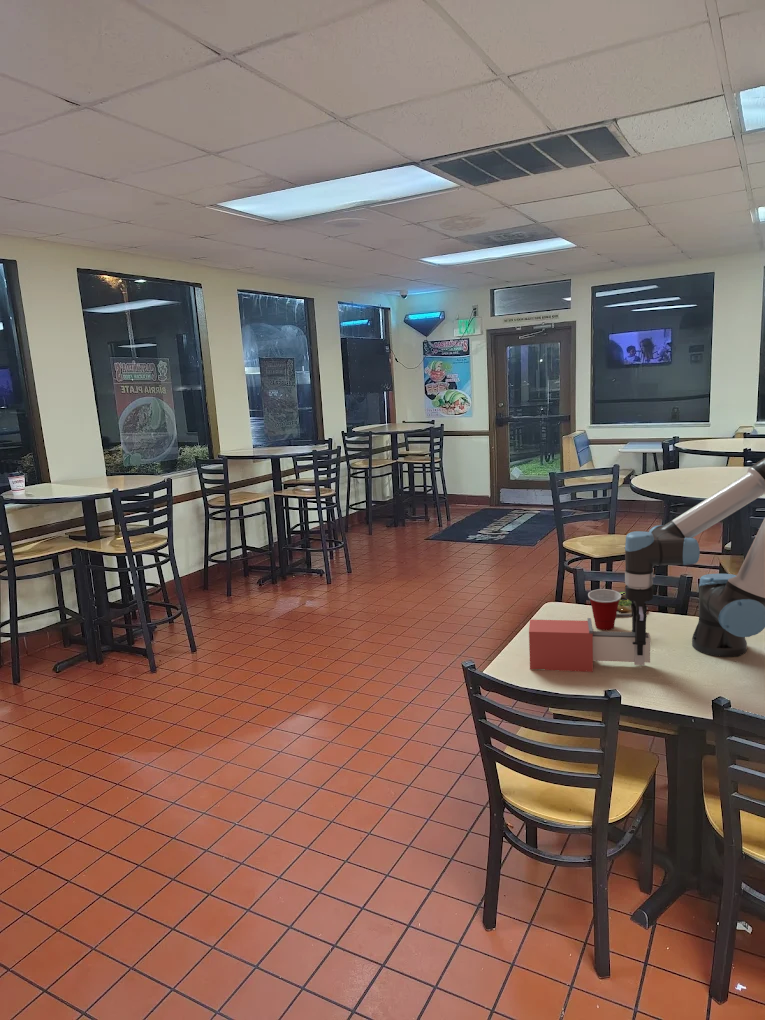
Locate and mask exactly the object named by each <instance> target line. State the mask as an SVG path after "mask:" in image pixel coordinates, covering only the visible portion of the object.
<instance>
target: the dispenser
mask: <svg viewBox="0 0 765 1020" xmlns="http://www.w3.org/2000/svg"><path fill="white" fill-rule="evenodd" d="M593 631H594V628H593V621H592V618H591V617H587V620H570V619H569V620H568V619H529V627H528V640H529V641H528V643H529V644H528V646H529V647H528V648H529V670H530V669H545V670H544V671H555V670H559V671H560V672H580V673H581V672H585V673H587V672H588V673H593V672H594V661H593Z"/></svg>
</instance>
